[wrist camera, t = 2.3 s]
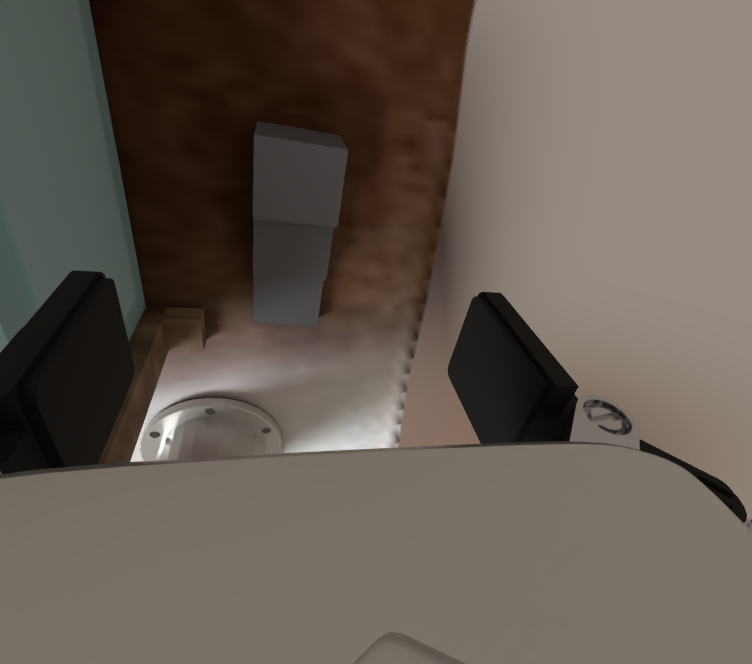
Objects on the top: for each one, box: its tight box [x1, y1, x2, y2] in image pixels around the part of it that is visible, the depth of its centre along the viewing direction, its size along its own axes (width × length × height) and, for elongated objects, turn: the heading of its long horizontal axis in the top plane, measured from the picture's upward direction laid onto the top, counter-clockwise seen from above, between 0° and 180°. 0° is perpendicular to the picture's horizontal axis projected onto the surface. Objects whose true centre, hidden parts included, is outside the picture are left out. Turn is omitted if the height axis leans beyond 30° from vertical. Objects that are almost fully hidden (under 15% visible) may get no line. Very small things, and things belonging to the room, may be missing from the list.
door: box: [0, 0, 146, 352], centre depth 18 cm, size 19×1×14 cm, turn 170°
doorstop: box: [253, 121, 348, 326], centre depth 27 cm, size 5×14×4 cm, turn 169°
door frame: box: [98, 306, 206, 464], centre depth 17 cm, size 26×8×18 cm, turn 170°
